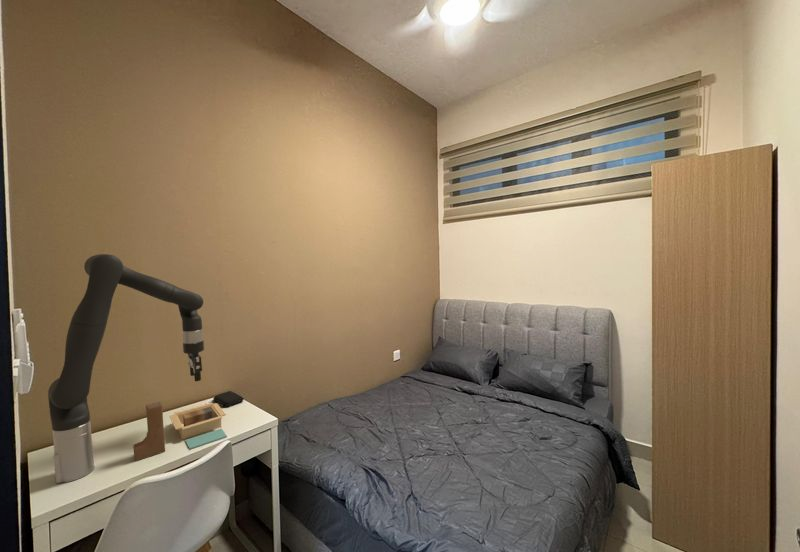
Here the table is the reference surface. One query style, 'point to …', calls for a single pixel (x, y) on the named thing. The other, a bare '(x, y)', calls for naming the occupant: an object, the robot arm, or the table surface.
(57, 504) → the table surface
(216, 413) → the carton
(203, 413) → the box
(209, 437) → the mat
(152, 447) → the wooden block
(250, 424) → the table surface
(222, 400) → the carrying case or bag
